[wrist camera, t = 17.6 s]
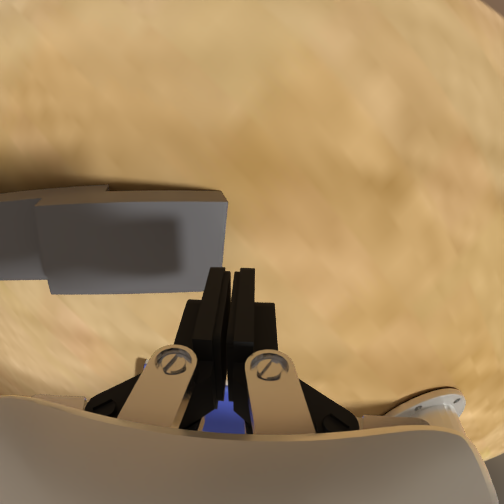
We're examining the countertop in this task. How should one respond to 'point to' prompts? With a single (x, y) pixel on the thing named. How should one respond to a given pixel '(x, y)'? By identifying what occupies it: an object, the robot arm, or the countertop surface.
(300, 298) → the countertop surface
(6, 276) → the tile
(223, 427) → the hard drive
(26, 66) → the countertop surface
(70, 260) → the tile
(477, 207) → the countertop surface
